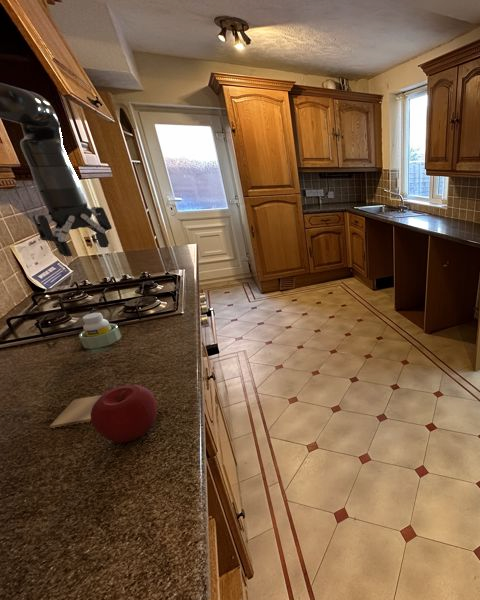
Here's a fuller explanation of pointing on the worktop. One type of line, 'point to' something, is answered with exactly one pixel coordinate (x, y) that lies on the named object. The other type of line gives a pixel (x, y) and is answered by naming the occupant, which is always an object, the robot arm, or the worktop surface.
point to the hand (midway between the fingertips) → (86, 251)
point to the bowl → (100, 340)
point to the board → (76, 412)
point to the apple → (124, 413)
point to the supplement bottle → (95, 325)
